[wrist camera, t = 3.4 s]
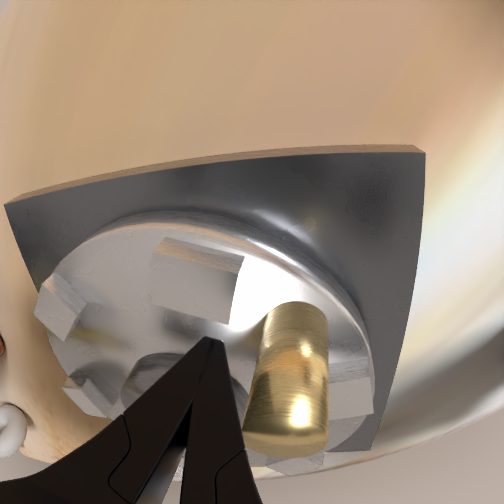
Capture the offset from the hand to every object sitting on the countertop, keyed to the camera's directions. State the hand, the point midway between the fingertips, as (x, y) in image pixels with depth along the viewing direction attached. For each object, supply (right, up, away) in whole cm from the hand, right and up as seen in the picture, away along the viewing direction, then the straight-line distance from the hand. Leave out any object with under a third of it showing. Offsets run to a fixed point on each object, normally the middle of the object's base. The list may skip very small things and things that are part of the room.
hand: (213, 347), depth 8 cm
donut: (-35, -21, +26) cm, 48 cm away
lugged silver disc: (-2, -3, +7) cm, 8 cm away
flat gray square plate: (-1, -2, +9) cm, 9 cm away
